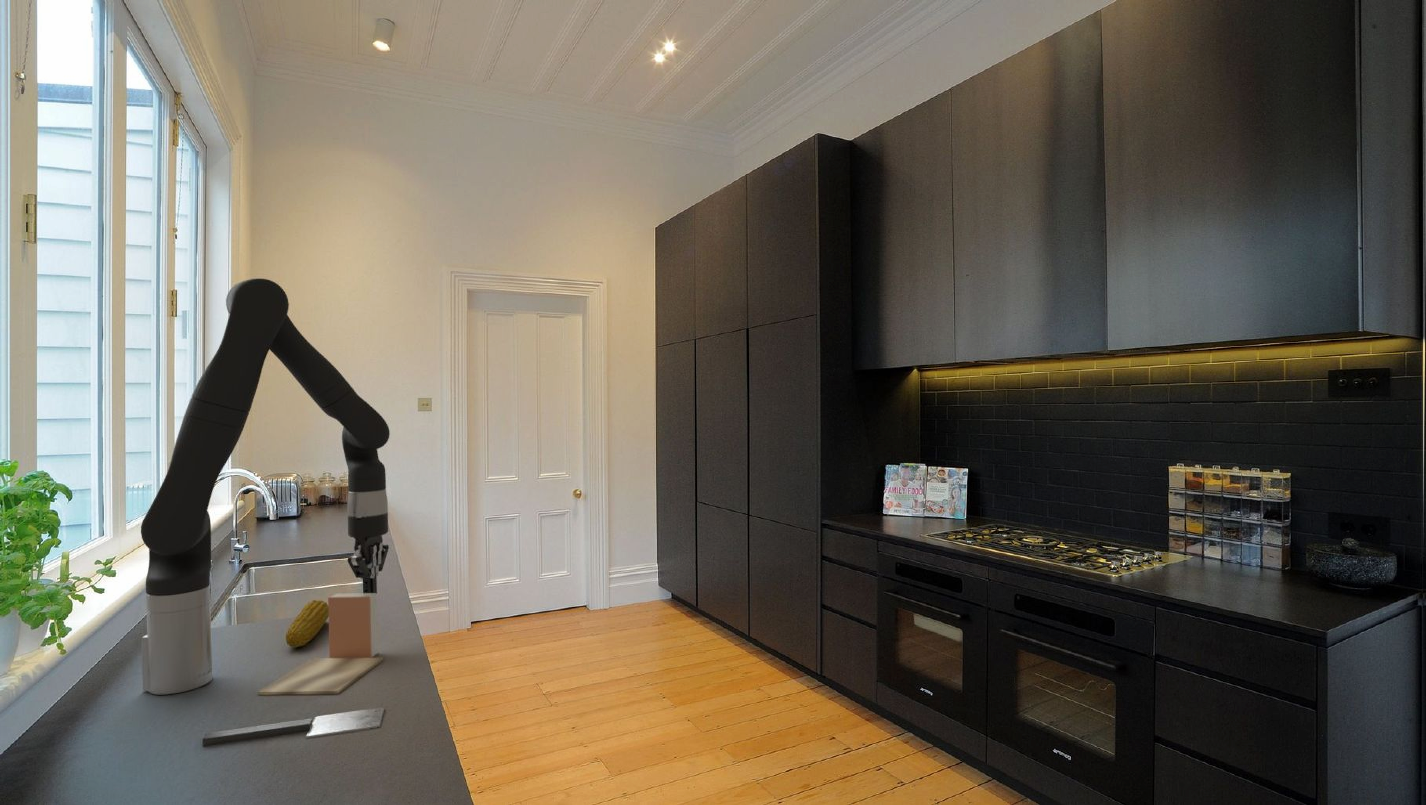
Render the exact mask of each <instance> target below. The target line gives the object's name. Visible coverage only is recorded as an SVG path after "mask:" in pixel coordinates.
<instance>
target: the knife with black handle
mask: <svg viewBox="0 0 1426 805" xmlns="http://www.w3.org/2000/svg"><path fill="white" fill-rule="evenodd" d="M385 708H386V707H385V706H383V707H373V708H366V709H360V710H353V711H347V712H339V713H331V714H324V715H317V716H315V717H314V719H313V718H305V719H297V720H291V721H290V720H289V721H282V722H275V723H270V724H261V725H256V726H255V725H254V726H248V727H240V728H234V729H227V730H219V731H213V732H207V733H206V734H205V735H204V736H203V738H201V739H202V740H201V741H202V748H204V747H205V748H206V747H209V746H210V747H211V746H216V745H224V744H230V743H238V742H245V741H251V740H258V739H260V740H261V739H265V738H271V737H280V736H285V735H287V736H288V735H293V734H298V733H299V734H300V733H306V732H307V734H306V735H305V736H306V737H305V738H306V739H310V738H312V739H313V738H317V737H323V736H331V735H332V736H333V735H337V734H345V733H350V732H351V733H353V732H359V731H366V730H371V729H370V728H373V729H378V728H377V727H379V728H380V727H381V724H382V719H383V717H382V716H384V712H385Z"/></svg>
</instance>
